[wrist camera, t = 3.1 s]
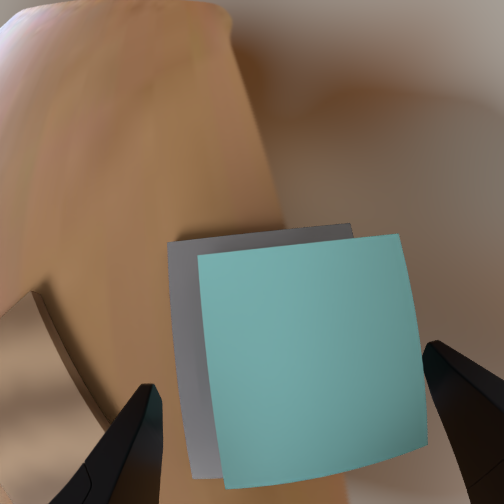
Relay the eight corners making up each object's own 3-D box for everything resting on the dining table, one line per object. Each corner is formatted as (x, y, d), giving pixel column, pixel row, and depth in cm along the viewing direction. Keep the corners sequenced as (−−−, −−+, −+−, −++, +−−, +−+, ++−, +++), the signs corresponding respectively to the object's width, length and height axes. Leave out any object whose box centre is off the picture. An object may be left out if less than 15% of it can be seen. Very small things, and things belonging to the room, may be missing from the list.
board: (139, 463, 15) (132, 470, 14) (30, 511, 13) (22, 516, 12) (40, 294, 18) (30, 290, 17) (-43, 373, 16) (-53, 372, 15)
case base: (376, 445, 15) (396, 459, 13) (195, 473, 15) (186, 492, 12) (345, 229, 20) (360, 209, 17) (171, 247, 19) (158, 230, 16)
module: (322, 392, 16) (427, 444, 5) (240, 404, 16) (225, 489, 5) (311, 303, 17) (398, 233, 7) (229, 313, 17) (197, 255, 7)
